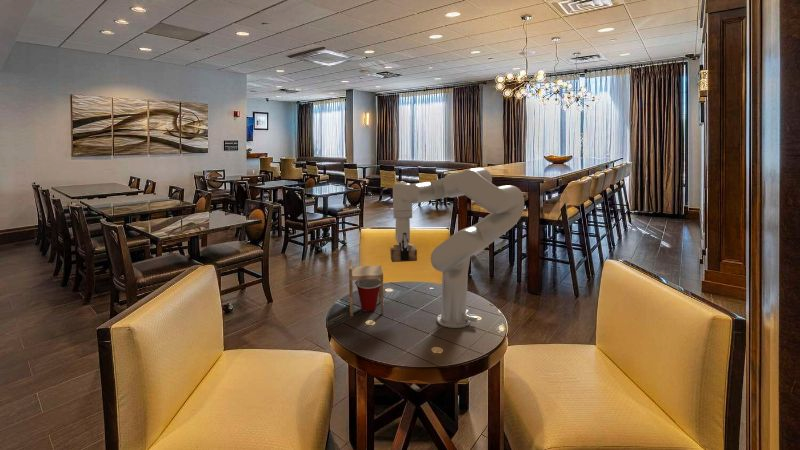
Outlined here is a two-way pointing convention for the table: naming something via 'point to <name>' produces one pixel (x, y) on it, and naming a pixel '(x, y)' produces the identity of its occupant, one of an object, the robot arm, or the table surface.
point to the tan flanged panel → (365, 273)
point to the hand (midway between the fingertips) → (403, 257)
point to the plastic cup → (368, 293)
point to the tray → (397, 253)
